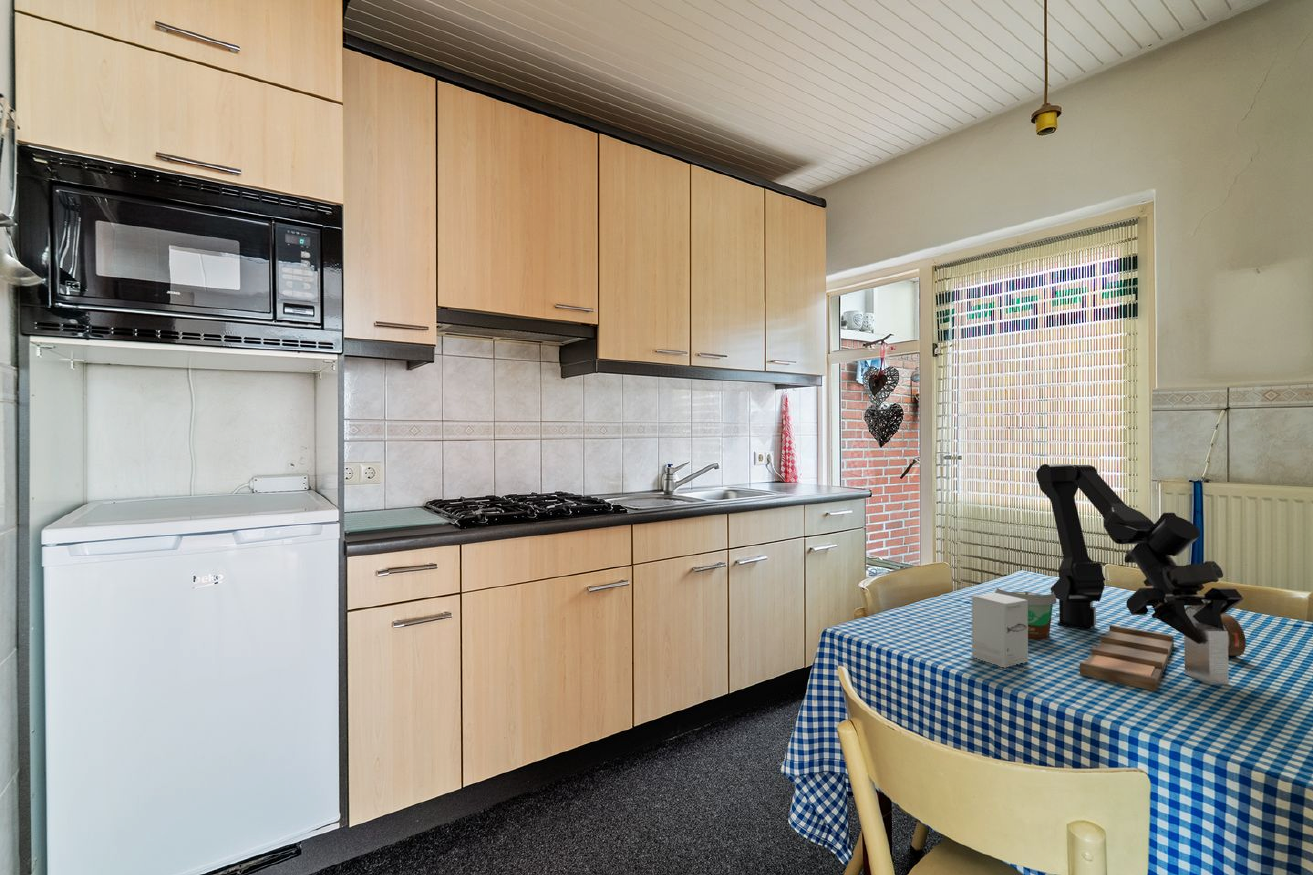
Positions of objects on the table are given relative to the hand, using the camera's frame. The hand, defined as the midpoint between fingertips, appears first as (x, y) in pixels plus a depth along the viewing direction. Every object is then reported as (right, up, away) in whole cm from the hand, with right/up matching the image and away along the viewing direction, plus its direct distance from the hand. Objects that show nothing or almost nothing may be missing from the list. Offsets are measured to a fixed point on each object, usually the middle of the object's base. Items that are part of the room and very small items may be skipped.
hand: (1212, 642), depth 110 cm
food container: (-18, -8, +26) cm, 32 cm away
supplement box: (-33, -8, +11) cm, 35 cm away
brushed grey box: (0, -7, +1) cm, 7 cm away
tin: (+16, -8, +18) cm, 25 cm away
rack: (-6, -7, +12) cm, 15 cm away
